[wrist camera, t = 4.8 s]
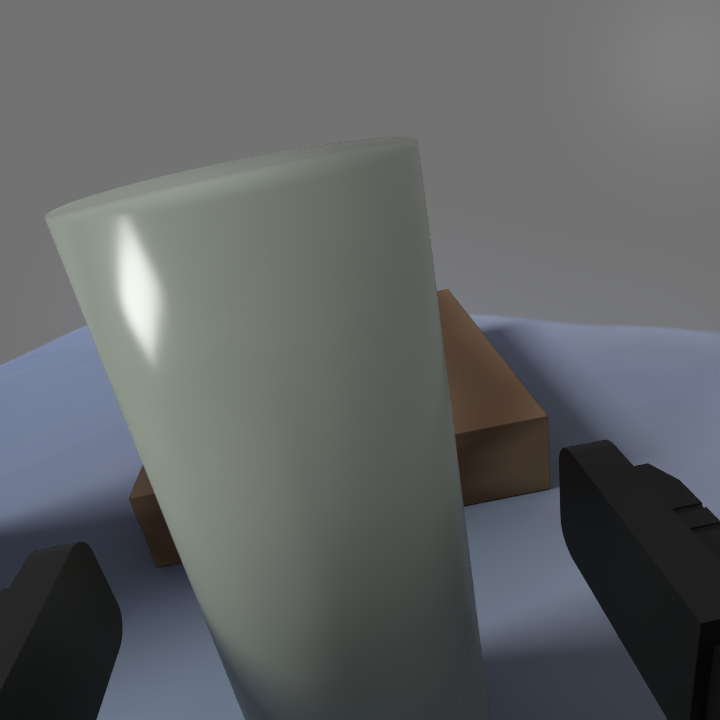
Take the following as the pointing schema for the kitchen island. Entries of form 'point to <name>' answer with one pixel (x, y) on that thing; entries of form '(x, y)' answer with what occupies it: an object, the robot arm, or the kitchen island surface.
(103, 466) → the kitchen island surface
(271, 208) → the pale green cylinder
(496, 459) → the walnut block
